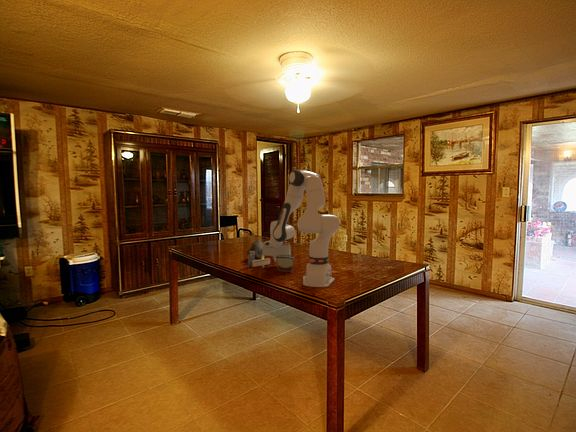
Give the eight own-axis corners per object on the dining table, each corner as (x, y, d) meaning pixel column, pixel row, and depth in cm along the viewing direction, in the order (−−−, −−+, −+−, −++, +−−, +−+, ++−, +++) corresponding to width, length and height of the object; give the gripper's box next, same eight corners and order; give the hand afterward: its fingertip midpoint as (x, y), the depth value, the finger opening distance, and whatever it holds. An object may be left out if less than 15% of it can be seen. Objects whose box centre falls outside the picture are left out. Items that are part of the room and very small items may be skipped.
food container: (296, 269, 207) (296, 254, 207) (294, 271, 201) (294, 256, 201) (278, 268, 211) (278, 254, 210) (276, 270, 205) (276, 255, 204)
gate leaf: (252, 266, 213) (252, 261, 213) (252, 266, 215) (252, 260, 214) (270, 264, 221) (270, 258, 221) (269, 263, 222) (269, 258, 222)
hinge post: (251, 268, 211) (251, 254, 211) (247, 267, 212) (247, 254, 211) (252, 267, 214) (252, 253, 213) (249, 266, 215) (248, 253, 214)
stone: (255, 256, 250) (255, 237, 249) (266, 257, 245) (265, 238, 244) (244, 259, 238) (244, 240, 236) (255, 261, 233) (255, 241, 231)
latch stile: (253, 263, 226) (253, 251, 225) (249, 262, 227) (249, 251, 226) (254, 262, 228) (254, 251, 227) (250, 262, 229) (250, 250, 228)
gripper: (291, 242, 217) (291, 261, 219) (264, 241, 222) (264, 260, 223) (289, 244, 211) (289, 263, 212) (261, 242, 216) (261, 262, 217)
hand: (276, 262), depth 218 cm, fingers closed
